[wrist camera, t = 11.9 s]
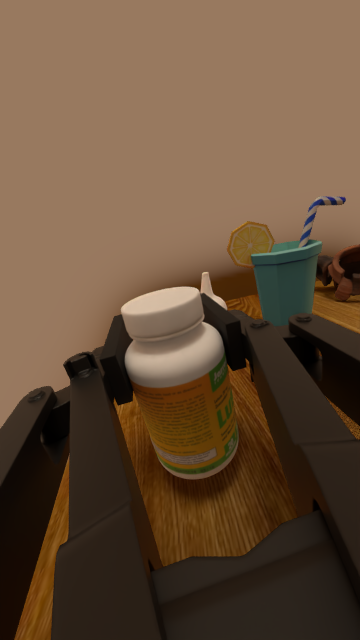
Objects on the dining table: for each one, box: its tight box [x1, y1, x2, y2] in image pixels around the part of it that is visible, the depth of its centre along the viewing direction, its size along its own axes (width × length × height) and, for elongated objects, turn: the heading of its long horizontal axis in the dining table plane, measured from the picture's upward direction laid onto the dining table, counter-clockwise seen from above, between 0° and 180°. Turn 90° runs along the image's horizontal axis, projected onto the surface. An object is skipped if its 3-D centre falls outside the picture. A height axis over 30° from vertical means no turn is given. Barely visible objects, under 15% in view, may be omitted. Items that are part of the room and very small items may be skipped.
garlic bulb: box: [200, 272, 227, 310], centre depth 37 cm, size 6×6×8 cm
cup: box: [227, 197, 346, 326], centre depth 27 cm, size 14×8×15 cm, turn 102°
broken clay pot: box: [316, 245, 360, 301], centre depth 36 cm, size 12×10×8 cm
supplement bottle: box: [121, 287, 239, 479], centre depth 13 cm, size 5×5×10 cm
